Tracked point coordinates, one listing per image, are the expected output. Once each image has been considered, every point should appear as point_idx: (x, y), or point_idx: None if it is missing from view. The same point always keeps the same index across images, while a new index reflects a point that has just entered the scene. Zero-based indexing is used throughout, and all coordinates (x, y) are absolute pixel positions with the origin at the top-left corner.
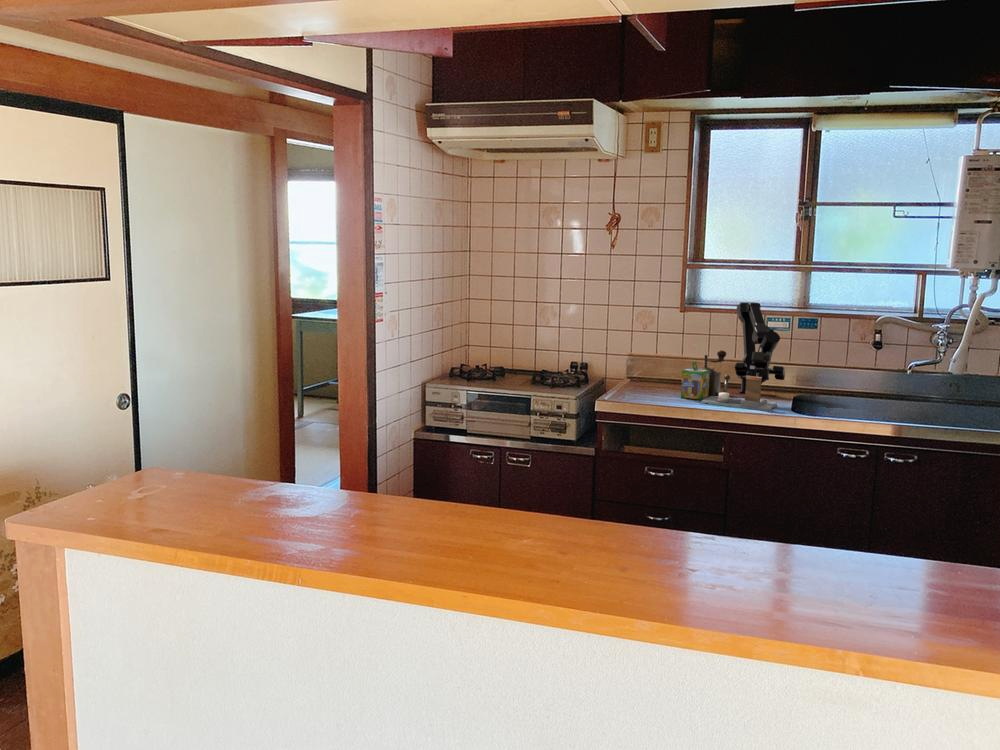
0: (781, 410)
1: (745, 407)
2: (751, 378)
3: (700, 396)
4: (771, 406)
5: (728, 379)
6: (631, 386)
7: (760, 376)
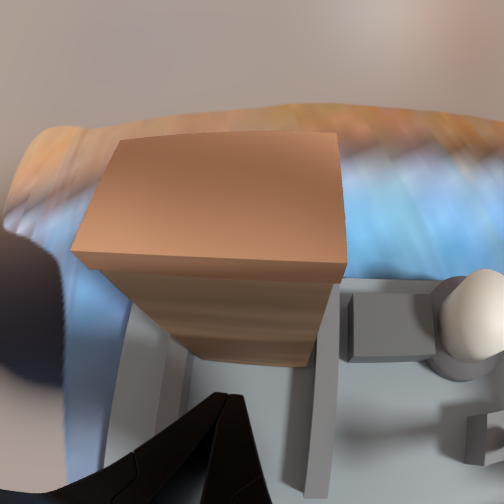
0: (81, 321)
1: None
2: (243, 144)
3: None
4: (124, 345)
5: None
6: None
7: (100, 497)
